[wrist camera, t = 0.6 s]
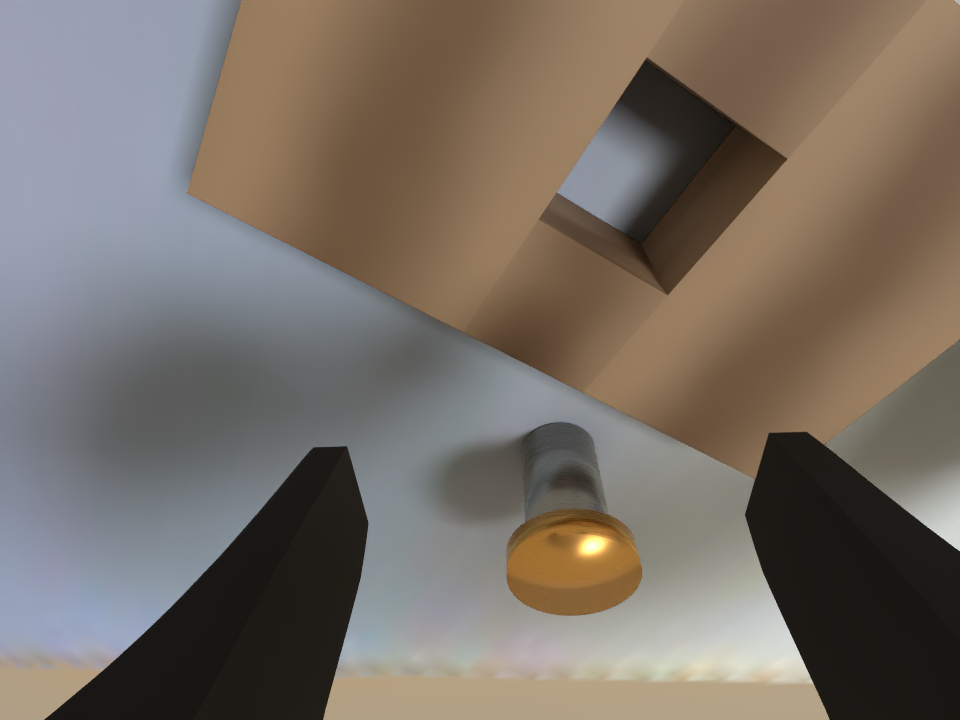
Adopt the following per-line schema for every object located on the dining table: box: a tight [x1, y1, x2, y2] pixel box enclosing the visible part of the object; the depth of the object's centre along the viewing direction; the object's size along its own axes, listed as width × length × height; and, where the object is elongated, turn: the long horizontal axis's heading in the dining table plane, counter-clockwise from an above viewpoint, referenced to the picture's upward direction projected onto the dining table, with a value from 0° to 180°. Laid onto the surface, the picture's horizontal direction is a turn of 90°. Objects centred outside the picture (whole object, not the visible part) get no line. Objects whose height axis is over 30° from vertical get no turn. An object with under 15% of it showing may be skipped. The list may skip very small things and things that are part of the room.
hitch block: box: [187, 0, 960, 479], centre depth 15 cm, size 20×12×4 cm, turn 60°
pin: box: [506, 423, 642, 615], centre depth 21 cm, size 4×4×6 cm
